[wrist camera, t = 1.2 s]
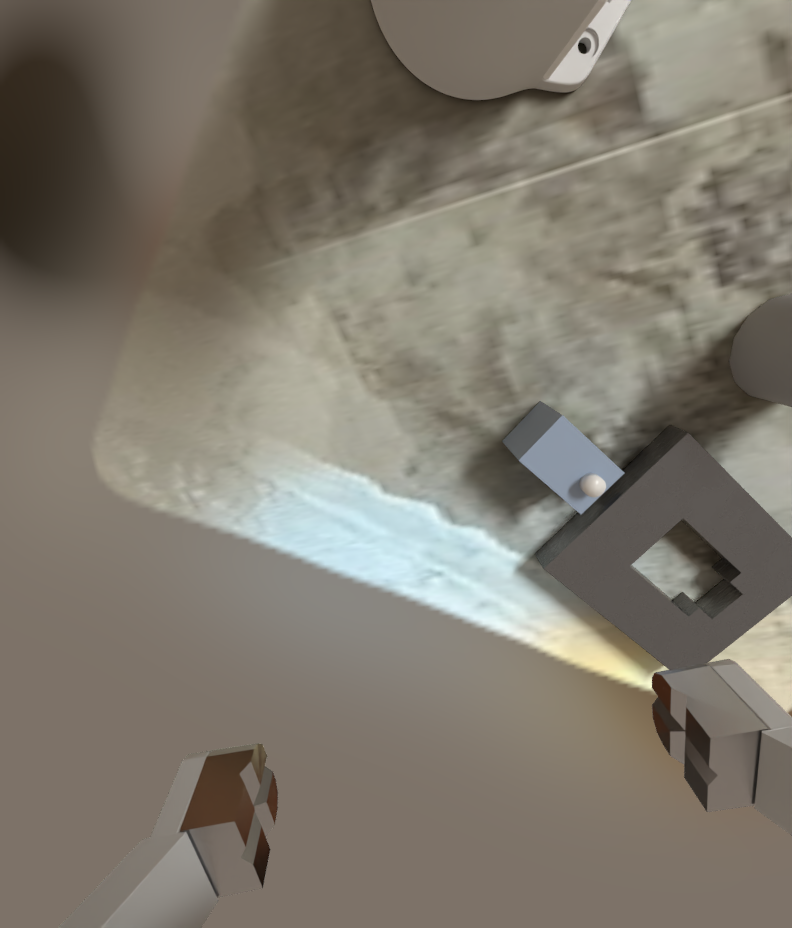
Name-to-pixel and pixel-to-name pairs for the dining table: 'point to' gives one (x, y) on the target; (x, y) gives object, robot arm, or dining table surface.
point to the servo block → (562, 457)
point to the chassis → (646, 521)
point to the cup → (765, 352)
